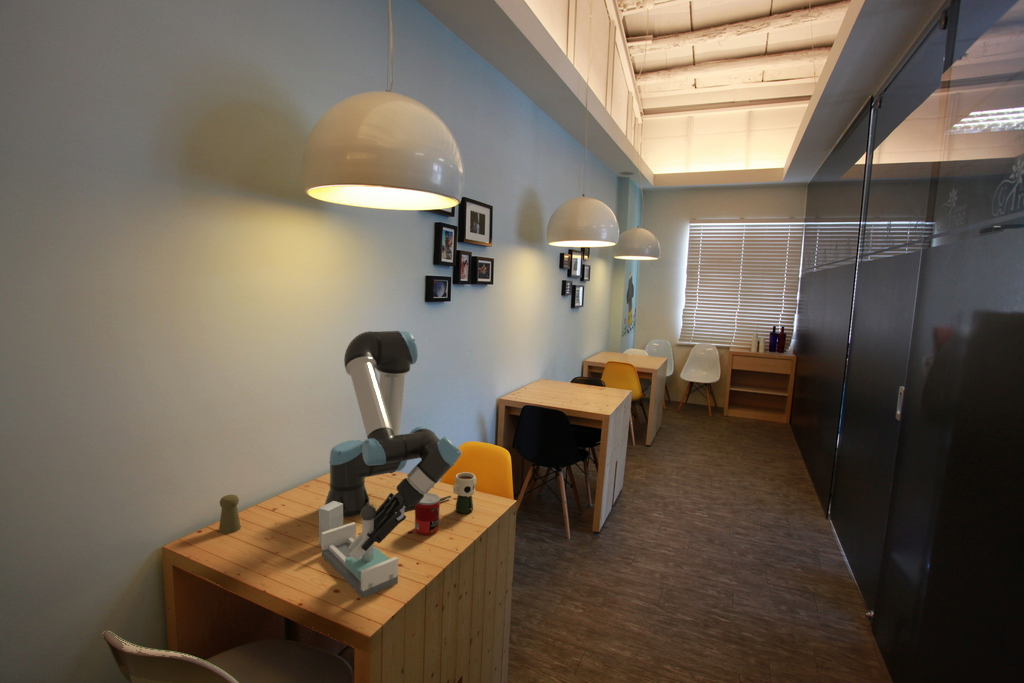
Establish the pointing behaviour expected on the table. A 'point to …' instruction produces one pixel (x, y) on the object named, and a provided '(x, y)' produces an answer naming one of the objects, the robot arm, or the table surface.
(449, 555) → the table surface
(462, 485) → the character mug
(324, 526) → the skincare box
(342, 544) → the rail track
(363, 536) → the carriage
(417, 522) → the canned food
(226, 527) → the olive pawn figure
